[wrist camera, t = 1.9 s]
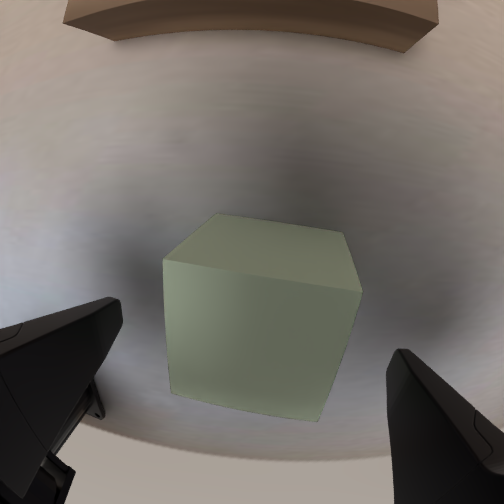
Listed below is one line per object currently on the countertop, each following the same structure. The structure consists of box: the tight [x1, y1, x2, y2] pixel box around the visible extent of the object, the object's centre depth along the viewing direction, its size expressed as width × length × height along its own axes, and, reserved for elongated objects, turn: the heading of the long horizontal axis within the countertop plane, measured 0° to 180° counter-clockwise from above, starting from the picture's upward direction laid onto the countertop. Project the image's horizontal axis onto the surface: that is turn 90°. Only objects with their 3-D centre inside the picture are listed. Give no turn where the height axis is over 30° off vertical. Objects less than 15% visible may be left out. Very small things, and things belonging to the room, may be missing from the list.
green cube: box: [163, 213, 363, 422], centre depth 10 cm, size 5×5×5 cm
